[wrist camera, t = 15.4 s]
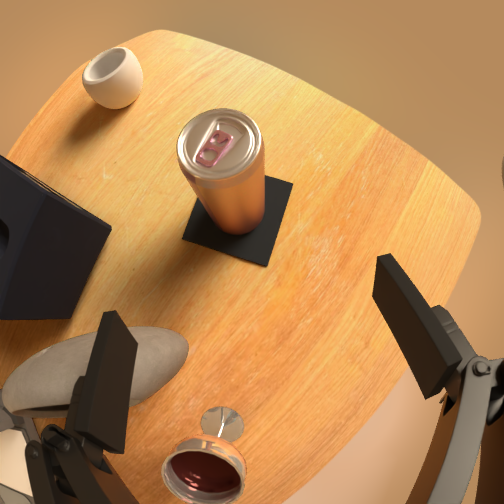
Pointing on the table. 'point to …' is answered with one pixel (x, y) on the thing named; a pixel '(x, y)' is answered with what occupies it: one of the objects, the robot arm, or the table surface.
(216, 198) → the beverage can
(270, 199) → the table mark
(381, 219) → the table surface
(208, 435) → the wineglass
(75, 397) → the robot arm
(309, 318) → the table surface
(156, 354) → the smooth grey egg stone
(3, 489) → the laptop
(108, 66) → the mug
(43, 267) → the speaker
